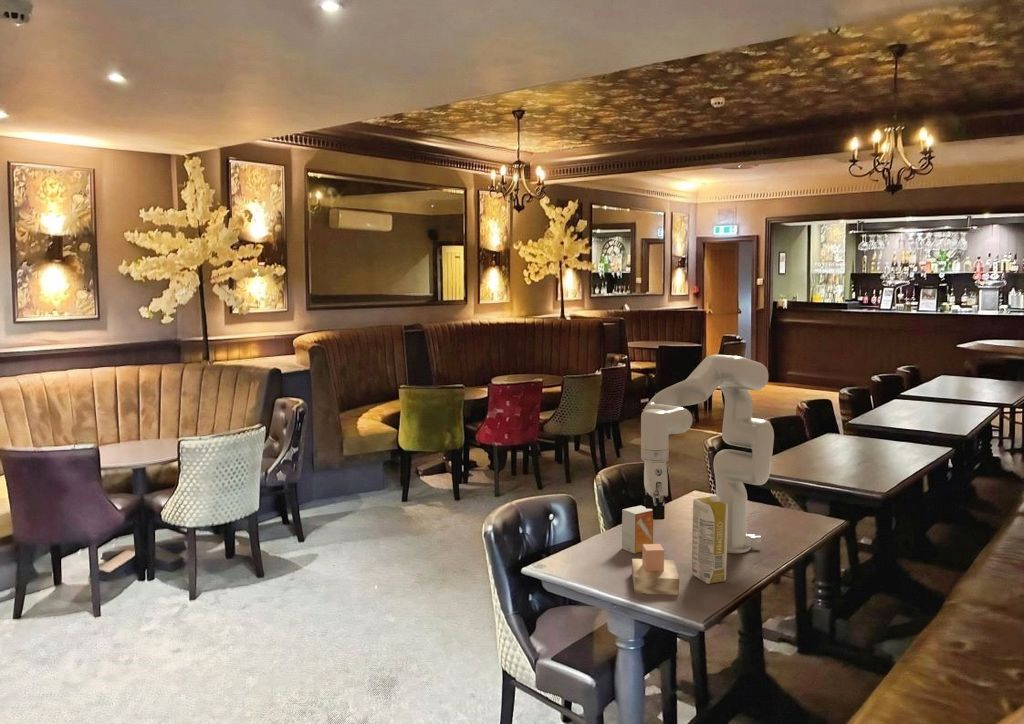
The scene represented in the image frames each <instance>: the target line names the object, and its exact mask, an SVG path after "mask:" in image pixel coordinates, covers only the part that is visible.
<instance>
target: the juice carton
mask: <svg viewBox="0 0 1024 724" xmlns="http://www.w3.org/2000/svg"><path fill="white" fill-rule="evenodd" d="M719 498H720V497H718V496H716V495H710V496H707V497H706V496H705V497H699V498H693V500H692V501H693V502H692V505H693V506H692V534H691V537H692V539H691V541H692V543H691V546H692V547H691V573H692V576H693V577H696V578H697V579H699V580H701V581H702V582H703V583H705V584H707V585H710V584H715V583H723V582H725V581H726V580H727V563H728V562H727V561H728V557H727V556H728V553H727V520H728V504H727V503H723V502H720V501H719Z"/></svg>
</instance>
